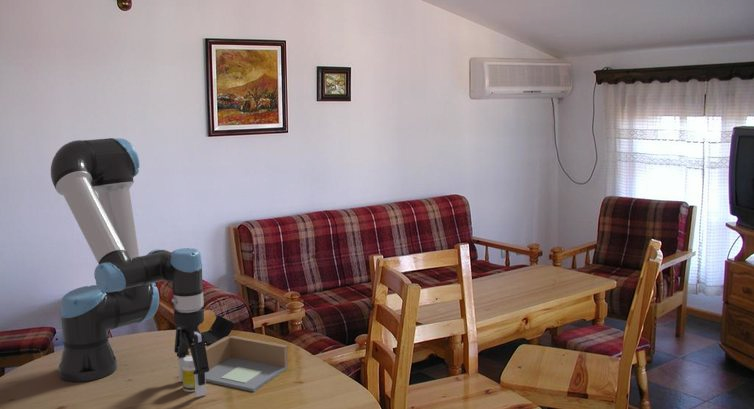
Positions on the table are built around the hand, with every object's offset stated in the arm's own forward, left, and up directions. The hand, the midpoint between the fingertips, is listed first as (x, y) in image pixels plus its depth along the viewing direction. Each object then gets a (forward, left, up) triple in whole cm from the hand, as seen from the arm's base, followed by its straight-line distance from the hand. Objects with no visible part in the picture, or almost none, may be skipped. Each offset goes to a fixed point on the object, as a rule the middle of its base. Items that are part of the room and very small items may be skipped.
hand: (192, 387), depth 185 cm
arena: (+6, +14, 0) cm, 15 cm away
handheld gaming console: (-18, +33, -1) cm, 38 cm away
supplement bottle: (0, 0, 0) cm, 0 cm away
